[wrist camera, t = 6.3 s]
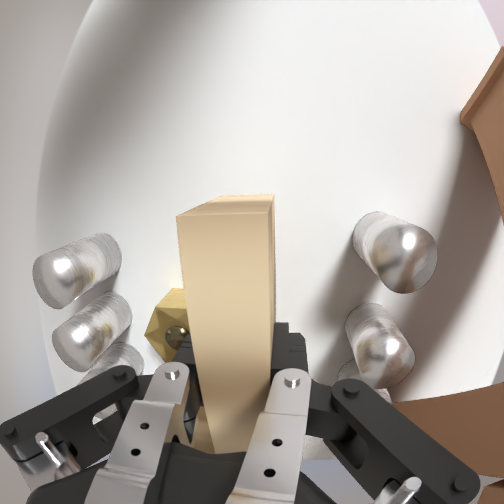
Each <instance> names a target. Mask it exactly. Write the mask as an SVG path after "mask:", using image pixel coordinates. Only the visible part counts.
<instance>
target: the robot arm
mask: <svg viewBox="0 0 504 504" xmlns="http://www.w3.org/2000/svg"><path fill="white" fill-rule="evenodd" d="M112 404H115V406H116V408H117V410H118V411H116V412H114V413H113V414H111V415H110V416H108V417H106V418H105V419H103V420H101V421H100V422H98V423H96V424H95V425H93V423H92V420H93V417H94V416H95V415H96V414H97V413H99V412H100V411H102V410H104V409H106V408H107V407H109V406H111V405H112ZM200 406H202V407H204V403H203V398H202V393H201V388H200V384H199V378H198V373H197V368H196V363H195V357H194V352H193V346H192V340H191V334H190V333H189V334H188V335H187V336H186V338H185V340H184V342H183V343H182V345H181V348H179V350H178V352H177V353H176V355H175V357H174V358H173V360H172V362H169V363H165V364H162V365H161V366H159V367H158V368H157V369H156V371H155V373H154V374H153V375H140V376H137V374H136V371H135V369H134V368H133V367H131V366H128V365H118V366H114V367H112V368H110V369H108V370H106V371H104V372H102V373H100V374H99V375H97V376H95V377H93V378H91V379H89V380H87V381H85V382H83V383H82V384H80V385H78V386H76V387H74V388H72V389H70V390H68V391H66V392H64V393H62V394H60V395H58V396H56V397H54V398H53V399H51V400H48V401H46V402H45V403H43V404H41V405H39V406H36V407H34V408H32V409H30V410H28V411H26V412H24V413H22V414H20V415H18V416H16V417H14V418H12V419H10V420H7V421H5V422H4V423H2V424H1V425H0V444H1V445H2V447H3V448H4V449H5V450H6V451H7V453H8V454H9V456H10V457H11V459H12V460H13V461H14V462H15V463H16V464H17V466H18V468H19V470H20V471H21V473H22V475H23V477H24V479H25V481H26V483H27V485H28V487H29V488H30V490H31V492H32V493H31V494H30V496H29V497H28V499H27V502H26V504H337V503H335V502H334V501H333V500H332V499H331V498H330V497H329V496H327V495H326V494H325V493H324V492H323V491H322V490H321V489H320V488H319V487H318V486H317V485H316V484H314V482H313V481H311V480H310V479H309V478H308V477H307V476H306V475H305V474H304V473H302V472H300V466H301V460H302V453H303V447H304V440H305V435H310V436H314V437H319V438H323V441H324V443H325V444H326V445H327V447H328V448H329V449H330V450H331V451H332V453H333V454H334V455H335V456H336V457H337V459H338V460H339V461H340V462H341V463H342V465H343V466H344V467H345V468H346V469H347V470H348V471H349V473H350V474H351V475H352V476H353V477H354V478H355V479H356V480H357V482H358V483H359V484H360V485H361V486H362V487H363V489H364V490H365V491H366V492H367V493H368V494H369V495H370V496H371V497H372V498H373V500H374V502H373V503H372V504H468V503H469V502H471V501H472V500H473V499H474V498H475V497H476V495H477V494H478V492H479V489H480V479H479V476H478V475H477V473H476V472H475V471H474V470H472V469H471V468H470V467H468V466H467V465H466V464H464V463H463V462H462V461H461V460H459V459H458V458H457V457H455V456H454V455H453V454H452V453H450V452H449V451H448V450H447V449H445V448H444V447H443V446H442V445H440V444H439V443H438V442H436V441H435V440H434V439H433V438H431V437H430V436H429V435H428V434H427V433H425V432H424V431H423V430H422V429H420V428H419V427H418V426H417V425H415V424H414V423H413V422H412V421H410V420H409V419H408V418H407V417H406V416H404V415H403V414H402V413H401V412H400V411H398V410H397V409H396V408H395V407H393V406H392V405H391V404H390V403H389V402H387V401H386V400H385V399H384V398H383V397H381V396H380V395H379V394H378V393H377V392H376V391H374V390H373V389H372V388H371V387H370V386H368V385H367V384H366V383H365V382H363V381H361V380H358V379H353V378H348V379H342V380H340V381H338V382H336V383H335V384H334V385H333V387H331V386H326V385H321V384H319V383H317V382H315V381H313V380H312V379H311V377H310V375H309V373H308V363H307V353H306V344H305V338H304V337H303V336H302V335H301V334H300V333H289V326H288V323H278V322H274V330H273V343H272V355H271V368H270V392H269V396H268V399H267V403H266V406H265V410H264V412H262V411H261V412H260V414H259V416H258V420H257V423H256V426H255V429H254V432H253V435H252V438H251V441H250V444H249V447H248V450H247V452H244V451H243V452H233V453H222V454H208V453H205V452H202V451H200V450H197V449H194V446H195V440H196V434H197V428H198V422H199V414H198V411H199V409H200ZM109 453H111V454H110V456H109V459H107V460H105V461H102V462H100V463H98V464H96V465H93V466H91V467H89V468H87V467H88V466H90V465H92V464H93V463H95V462H97V461H98V460H100V459H101V458H103V457H104V456H106V455H108V454H109ZM85 468H86V469H85Z"/></svg>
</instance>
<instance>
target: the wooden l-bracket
mask: <svg viewBox="0 0 504 504" xmlns="http://www.w3.org/2000/svg"><path fill="white" fill-rule="evenodd" d="M176 222H177V233H178V243H179V253H180V262H181V270H182V278H183V286H184V294H185V301H186V308H187V315H188V321H189V328H190V334H191V340H192V346H193V352H194V357H195V363H196V368H197V373H198V378H199V384H200V388H201V393H202V398H203V403H204V407H202V406H200V409H199V411H198V414H199V422H198V428H197V434H196V440H195V446H194V449H197V450H200V451H202V452H205V453H208V454H222V453H233V452H243V451H244V452H247V450H248V447H249V444H250V441H251V438H252V435H253V432H254V429H255V426H256V423H257V420H258V416H259V414H260V412H261V411H262V412H264V410H265V406H266V403H267V399H268V396H269V392H270V368H271V355H272V343H273V330H274V322H276V279H275V215H274V194H266V195H232V196H220V197H217V198H215V199H213V200H211V201H208V202H206V203H204V204H202V205H200V206H197V207H195V208H193V209H191V210H189V211H186V212H184V213H182V214H180V215H178V216H176Z"/></svg>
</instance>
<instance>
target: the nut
mask: <svg viewBox="0 0 504 504" xmlns="http://www.w3.org/2000/svg"><path fill="white" fill-rule="evenodd" d="M189 333H190V328H189V321H188V315H187V308H186V301H185V294H184V289H176V288H172V289H171V291H170V292H169V293H168V294H167V295H166V296H165V297H164V298H163V299H162V300H161V301H160V302H159V303H158V305H157V306H156V307H155V309H154V311H153V314H152V317H151V319H150V322H149V324H148V327H147V329H146V332H145V335H144V336H145V337H146V338H147V340H148V341H149V342H150V343H151V345H152V346H153V347H154V348H155V350H156V351H157V352H158V353H159V355H160V356H161V357H162V358H163V360H164V361H165V362H166V363H169V362H172V360H173V358H174V357H175V355H176V353H177V352H178V350H179V348H181V345H182V343H183V342H184V340H185V338H186V336H187V335H188V334H189Z"/></svg>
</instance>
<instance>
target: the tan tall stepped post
mask: <svg viewBox="0 0 504 504" xmlns="http://www.w3.org/2000/svg"><path fill="white" fill-rule="evenodd" d="M460 123H461V124H463V125H464V126H466V127H467V128H469V129H470V130H471V131H473V132H474V133H475V134H476V137H477V139H478V141H479V144H480V147H481V149H482V152H483V154H484V157H485V160H486V163H487V166H488V169H489V172H490V175H491V178H492V181H493V184H494V188H495V191H496V195H497V199H498V202H499V206H500V210H501V215H502V219H503V224H504V47H503V46H502V47H501V49H500V51H499V52H498V54H497V56H496V58H495V59H494V61H493V63H492V64H491V66H490V68H489V69H488V71H487V73H486V74H485V76H484V77H483V79H482V81H481V82H480V84H479V85H478V87H477V88H476V90H475V91H474V93H473V94H472V96H471V97H470V99H469V100H468V102H467V103H466V105H465V106H464V108H463V109H462V111H461V116H460ZM392 406H393V407H395V408H396V409H397V410H398V411H400V412H401V413H402V414H403V415H404V416H406V417H407V418H408V419H409V420H410V421H412V422H413V423H414V424H415V425H417V426H418V427H419V428H420V429H422V430H423V431H424V432H425V433H427V434H428V435H429V436H430V437H431V438H433V439H434V440H435V441H436V442H438V443H439V444H440V445H442V446H443V447H444V448H445V449H447V450H448V451H449V452H450V453H452V454H453V455H454V456H455V457H457V458H458V459H459V460H461V461H462V462H463V463H464V464H466V465H467V466H468V467H470V468H471V469H472V470H474V471H475V472H476V473H477V474H478V475H485V476H491V477H499V478H504V382H502V383H499V384H495V385H491V386H487V387H483V388H479V389H475V390H471V391H466V392H461V393H456V394H451V395H446V396H440V397H434V398H427V399H420V400H412V401H404V402H394V403H392ZM477 504H504V479H503V480H501V481H498V482H495V483H493V484H490V485H487V486H485V487H484V489H483V491H482V494H481V496H480V499H479V501H478V503H477Z"/></svg>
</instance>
